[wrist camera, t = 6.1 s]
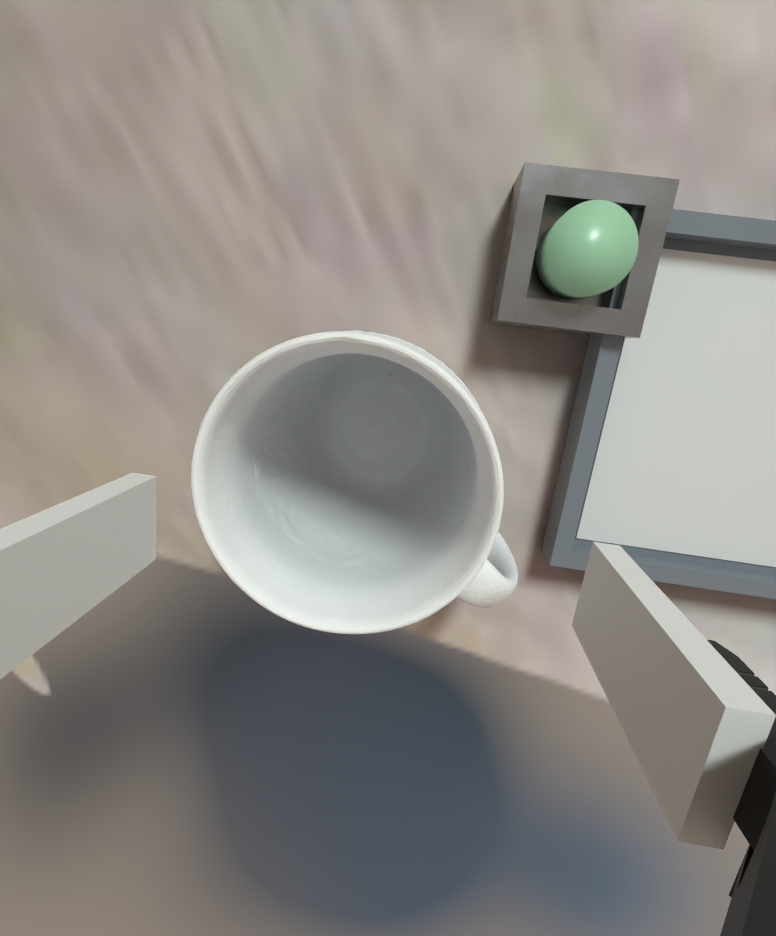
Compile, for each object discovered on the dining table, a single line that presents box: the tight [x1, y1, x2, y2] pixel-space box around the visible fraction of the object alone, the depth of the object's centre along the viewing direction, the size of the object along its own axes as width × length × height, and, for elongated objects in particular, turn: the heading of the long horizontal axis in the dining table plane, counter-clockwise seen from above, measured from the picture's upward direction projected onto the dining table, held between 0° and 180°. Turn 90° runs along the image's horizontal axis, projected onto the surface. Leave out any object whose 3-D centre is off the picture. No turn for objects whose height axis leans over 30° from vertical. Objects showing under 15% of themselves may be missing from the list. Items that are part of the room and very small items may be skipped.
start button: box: [536, 200, 639, 299], centre depth 23 cm, size 4×4×2 cm
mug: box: [191, 330, 518, 634], centre depth 23 cm, size 15×11×13 cm
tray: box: [541, 209, 776, 599], centre depth 26 cm, size 16×19×2 cm
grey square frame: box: [490, 163, 679, 338], centre depth 25 cm, size 7×7×3 cm
